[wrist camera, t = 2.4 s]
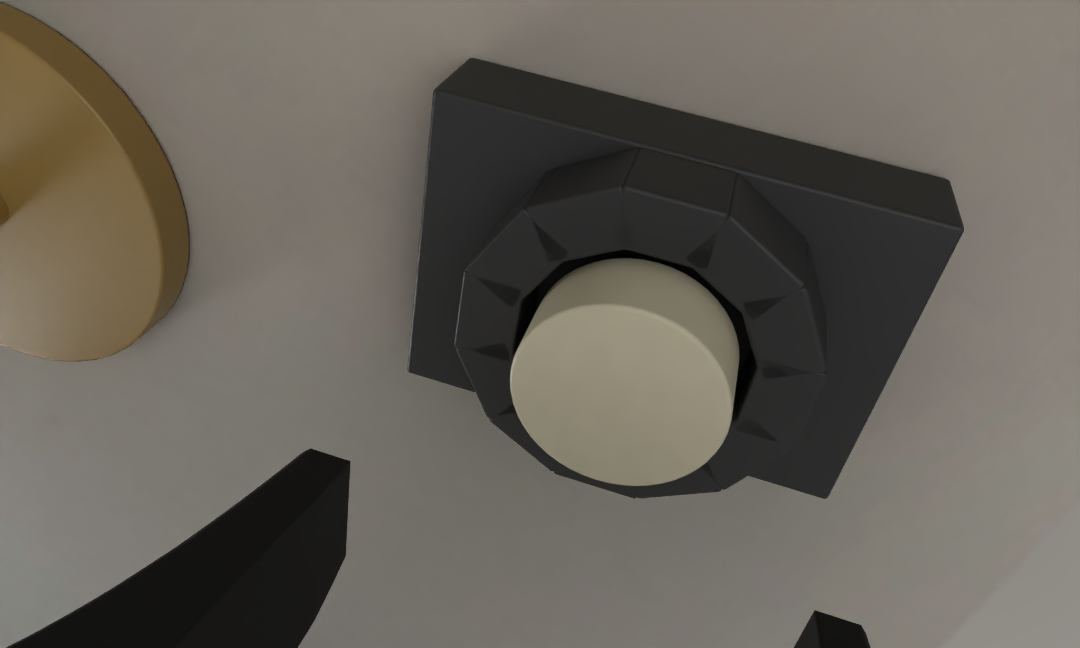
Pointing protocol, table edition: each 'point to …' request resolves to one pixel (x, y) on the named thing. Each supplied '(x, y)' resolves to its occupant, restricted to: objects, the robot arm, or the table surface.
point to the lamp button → (627, 373)
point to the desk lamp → (79, 204)
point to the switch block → (675, 257)
